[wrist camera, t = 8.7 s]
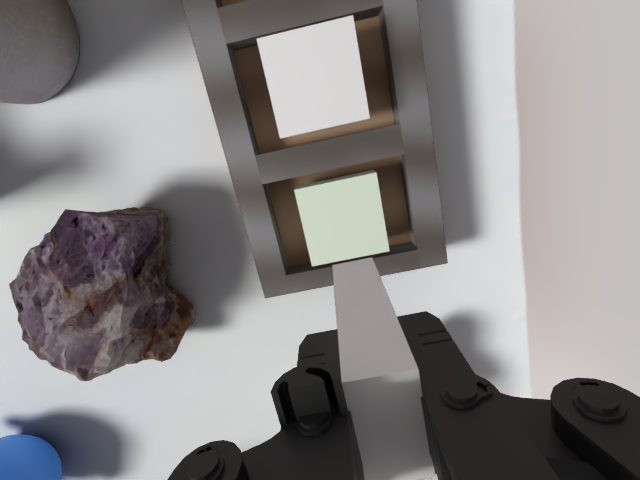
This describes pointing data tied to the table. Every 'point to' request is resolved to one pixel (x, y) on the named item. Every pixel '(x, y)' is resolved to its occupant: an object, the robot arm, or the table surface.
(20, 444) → the blue rounded piece
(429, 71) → the table surface
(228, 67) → the keypad
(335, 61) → the white key
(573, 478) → the robot arm
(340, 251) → the sage key
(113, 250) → the rock
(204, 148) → the table surface
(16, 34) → the pillar candle
